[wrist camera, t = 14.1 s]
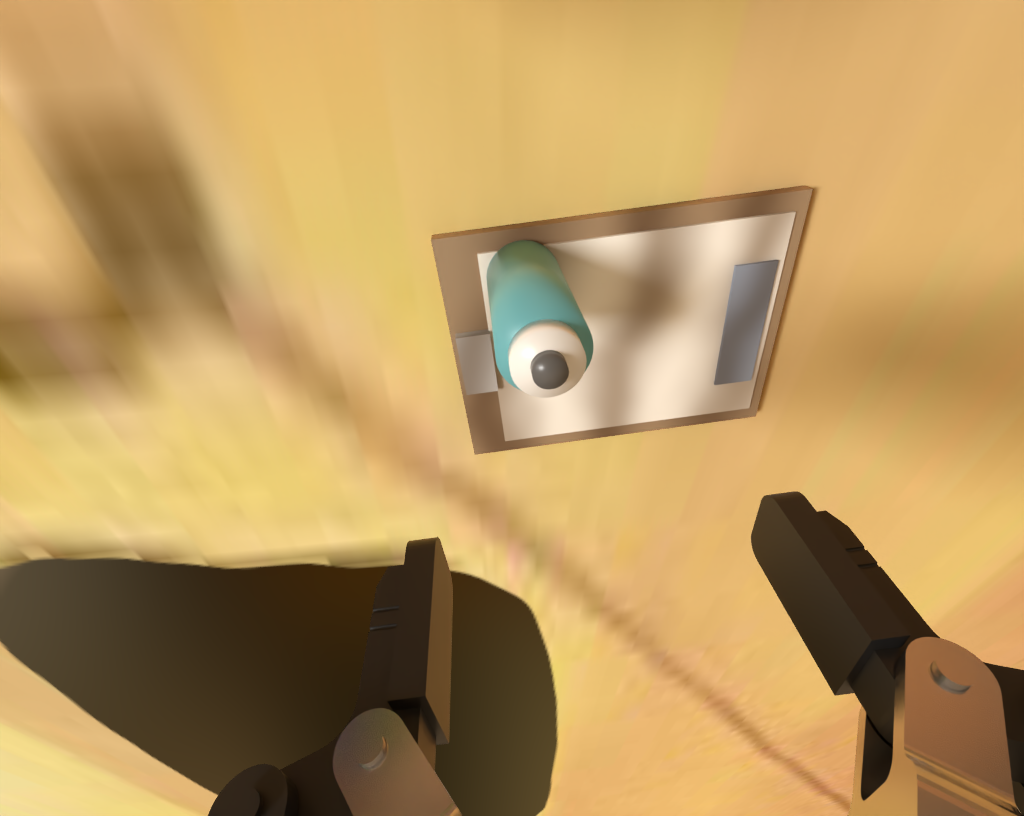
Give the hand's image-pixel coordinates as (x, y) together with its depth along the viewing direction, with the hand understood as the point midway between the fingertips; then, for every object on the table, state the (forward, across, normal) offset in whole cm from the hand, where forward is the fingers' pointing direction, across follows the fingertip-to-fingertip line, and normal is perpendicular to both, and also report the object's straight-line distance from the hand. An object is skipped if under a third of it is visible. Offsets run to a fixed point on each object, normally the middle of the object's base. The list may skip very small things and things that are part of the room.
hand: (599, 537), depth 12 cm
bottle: (+18, 0, 0) cm, 18 cm away
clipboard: (+19, -5, +5) cm, 20 cm away
